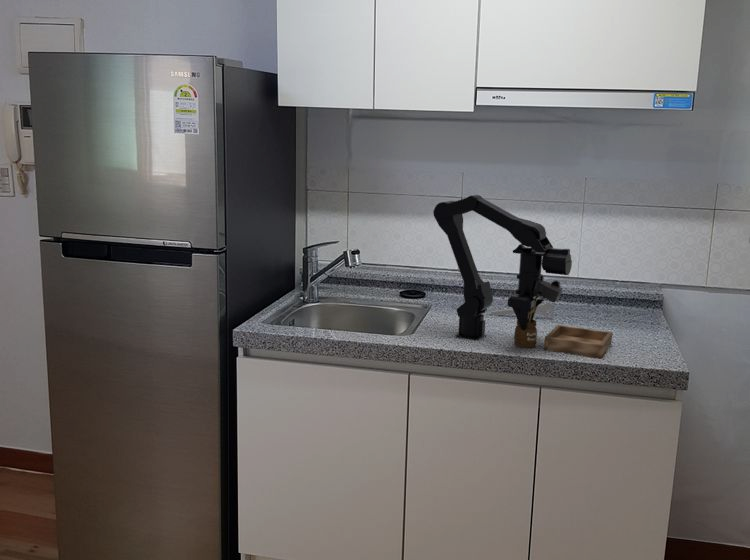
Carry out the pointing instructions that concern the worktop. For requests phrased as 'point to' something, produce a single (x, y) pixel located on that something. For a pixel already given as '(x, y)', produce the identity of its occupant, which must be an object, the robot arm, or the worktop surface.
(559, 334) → the tray
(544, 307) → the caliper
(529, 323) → the utensil holder
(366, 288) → the worktop surface
